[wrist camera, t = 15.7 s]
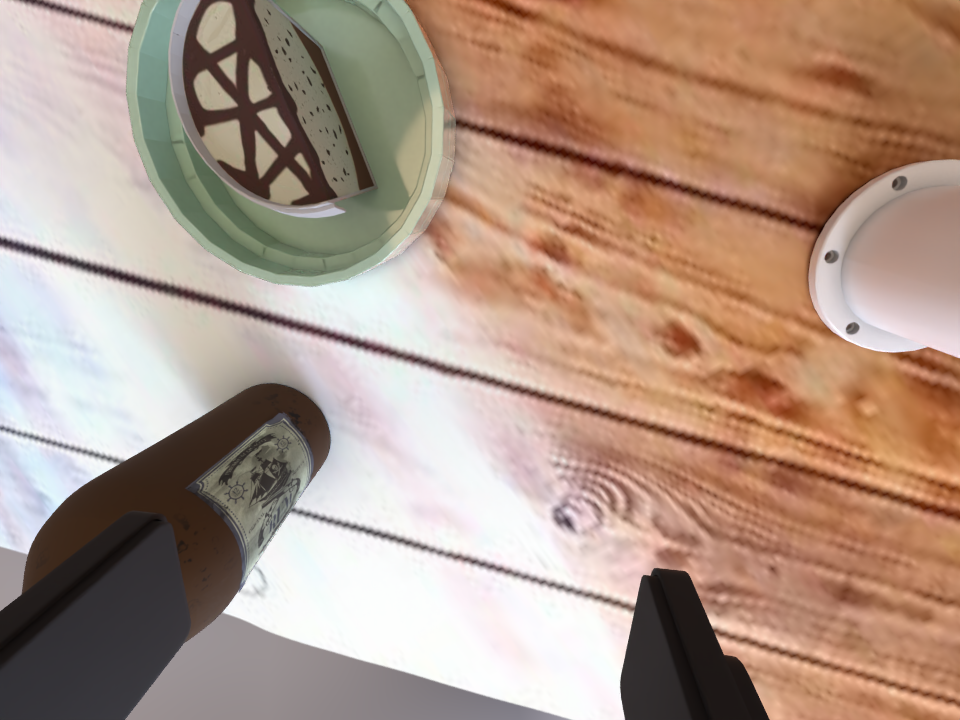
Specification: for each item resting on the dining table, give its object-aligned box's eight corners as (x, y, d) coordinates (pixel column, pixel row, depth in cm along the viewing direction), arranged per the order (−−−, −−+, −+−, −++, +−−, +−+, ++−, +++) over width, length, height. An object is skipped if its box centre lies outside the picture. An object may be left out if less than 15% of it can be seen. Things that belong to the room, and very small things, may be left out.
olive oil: (248, 491, 44) (-73, 830, 20) (202, 387, 41) (-240, 646, 17) (354, 474, 42) (137, 823, 19) (314, 365, 39) (-6, 617, 16)
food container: (232, 59, 32) (108, 0, 22) (312, 20, 30) (216, -60, 21) (312, 238, 35) (233, 252, 26) (386, 208, 34) (332, 212, 24)
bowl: (462, -28, 29) (448, -77, 24) (451, 282, 36) (439, 296, 31) (168, -35, 31) (95, -83, 26) (208, 264, 37) (156, 275, 32)
